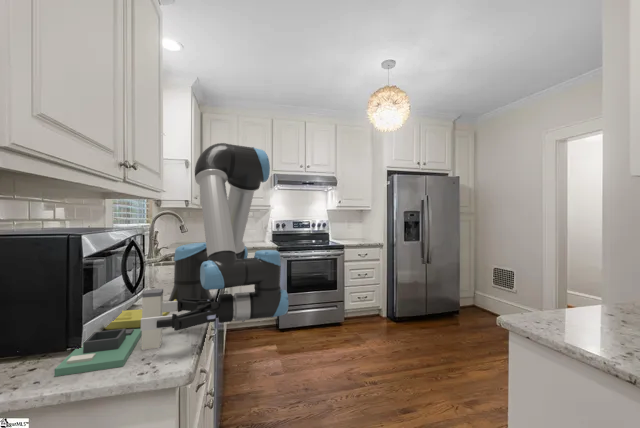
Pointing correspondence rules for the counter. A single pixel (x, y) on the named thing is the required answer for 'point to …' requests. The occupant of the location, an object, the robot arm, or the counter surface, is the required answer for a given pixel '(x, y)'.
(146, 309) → the plug
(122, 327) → the plastic component
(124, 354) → the board
